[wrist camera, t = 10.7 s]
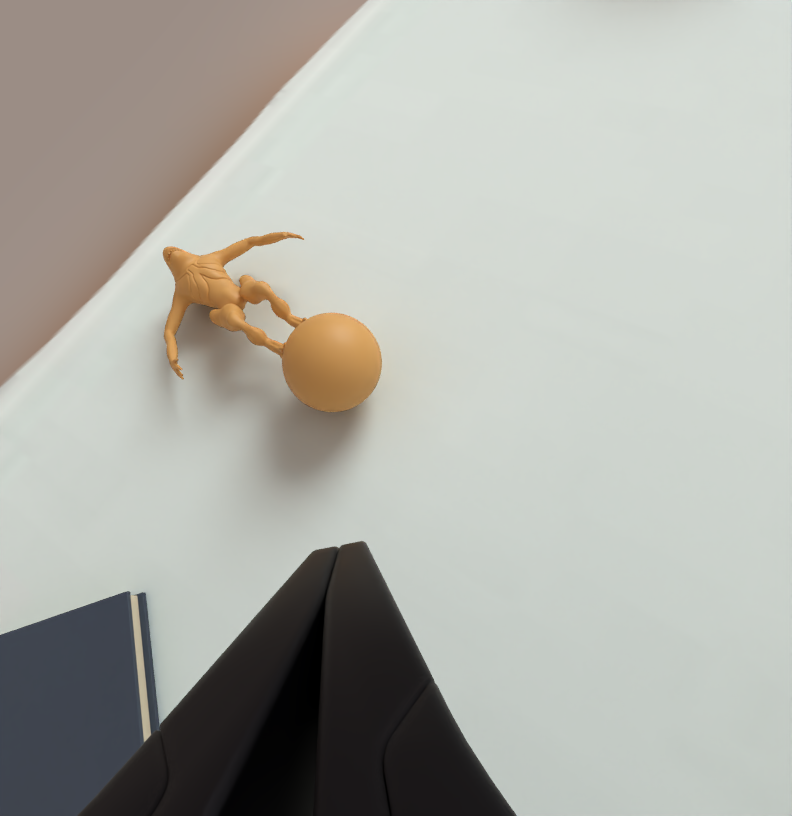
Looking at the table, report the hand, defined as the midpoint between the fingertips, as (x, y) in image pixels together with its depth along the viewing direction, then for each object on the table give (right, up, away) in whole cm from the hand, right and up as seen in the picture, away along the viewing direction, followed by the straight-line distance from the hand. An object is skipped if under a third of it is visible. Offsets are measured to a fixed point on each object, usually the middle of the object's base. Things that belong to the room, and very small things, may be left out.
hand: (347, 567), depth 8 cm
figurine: (0, +3, +13) cm, 14 cm away
